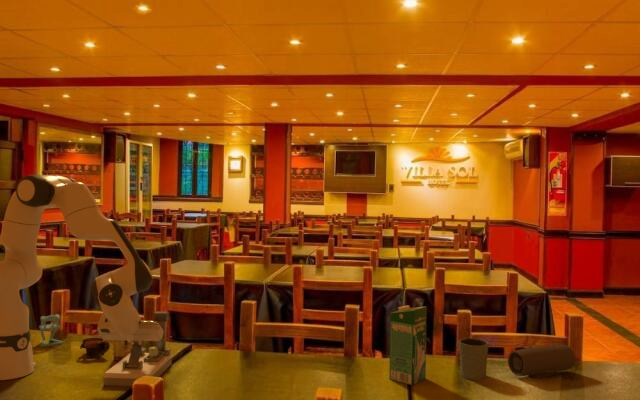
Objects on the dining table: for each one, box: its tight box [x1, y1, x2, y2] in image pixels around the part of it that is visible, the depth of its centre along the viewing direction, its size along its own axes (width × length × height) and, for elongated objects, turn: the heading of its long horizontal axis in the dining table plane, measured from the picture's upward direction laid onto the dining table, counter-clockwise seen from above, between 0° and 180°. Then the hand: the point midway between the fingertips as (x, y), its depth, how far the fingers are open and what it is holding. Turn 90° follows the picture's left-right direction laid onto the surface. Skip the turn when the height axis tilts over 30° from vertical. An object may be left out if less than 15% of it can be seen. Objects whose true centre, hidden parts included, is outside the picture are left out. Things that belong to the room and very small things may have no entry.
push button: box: [148, 346, 158, 358], centre depth 188 cm, size 3×3×3 cm
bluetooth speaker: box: [507, 344, 576, 379], centre depth 190 cm, size 23×9×10 cm, turn 111°
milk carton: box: [388, 305, 428, 386], centre depth 184 cm, size 9×9×25 cm
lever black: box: [153, 310, 170, 355], centre depth 193 cm, size 4×2×15 cm, turn 87°
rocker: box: [130, 347, 147, 355], centre depth 194 cm, size 4×3×2 cm
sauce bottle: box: [112, 340, 132, 362], centre depth 201 cm, size 7×6×20 cm
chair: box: [38, 313, 63, 348], centre depth 220 cm, size 8×8×12 cm
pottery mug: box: [79, 337, 111, 361], centre depth 204 cm, size 12×10×8 cm
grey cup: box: [458, 337, 490, 381], centre depth 188 cm, size 10×10×12 cm
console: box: [103, 347, 173, 387], centre depth 185 cm, size 15×22×6 cm
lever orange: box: [126, 341, 145, 369], centre depth 183 cm, size 4×2×15 cm
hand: (137, 343), depth 183 cm, fingers closed, pressing on lever orange
